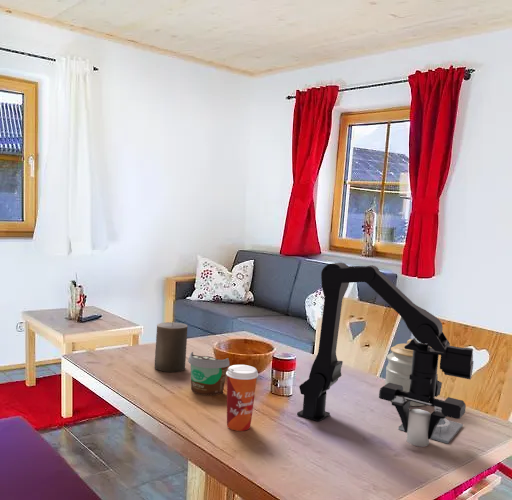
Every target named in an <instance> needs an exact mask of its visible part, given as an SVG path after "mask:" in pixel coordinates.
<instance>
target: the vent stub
mask: <svg viewBox="0 0 512 500" xmlns="http://www.w3.org/2000/svg"><path fill="white" fill-rule="evenodd" d="M431 413H432V412H429V411H427V410H425V409H420V408H411V409H409V417H408V428H407V433H406V439H405V440H406V442H407V443H408V444H409V445H412V446H414V447H422V448H423V447H427V446H428V447H429V443H430V439H428V431H429V424H430V417H431Z"/></svg>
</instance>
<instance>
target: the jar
mask: <svg viewBox="0 0 512 500" xmlns="http://www.w3.org/2000/svg"><path fill="white" fill-rule="evenodd" d="M412 339H413V338H409V339H408V340H407V341H406V343H397V344H395V345H394V346H392V347H390V351H391V352H390V353H388V354H387V356H386V358H387V361H388V362H387V363H388V364H387V365H386V367H385V369H386V371H385V372H386V373H385V384H384V385H386V384H388V383H393V384H397V385H401V386H403V391H407V392H409V390H410V379H409V377H410V374H411V368H412V358H413V350H409V349H405V348H404V347H405V345H407V344H408V343H410V342H411V340H412ZM392 402H393V400H392V401H391V403H392ZM422 406H425V405H424V404H420V403H416V402H413V401H411V403H410V407H422Z"/></svg>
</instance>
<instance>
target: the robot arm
mask: <svg viewBox="0 0 512 500" xmlns="http://www.w3.org/2000/svg"><path fill="white" fill-rule="evenodd" d="M320 272H321V273H320V274H321V275H320V276H321V277H320V280H321V290H322V293H323V298H324V301H323V309H322V316H321V317H322V318H321V325H320V334H319V340H318V341H319V343H318V349H317V354H316V356H315V359H314V361H313V363H312V365H311V368H310V371H309V372H310V373H309V374H308V379H307V380H305V381H304V382H302V383H301V384H300V385H299V386H298V387H299V391H300V394H301V395H303V402H302V403H303V404H302V409H301V410H300V411H298V412H297V413H296V416H299V417H303V418H306V419H309V420H312V421H315V422H321V421H322V420H323V421H324V419H326V418H327V417H329V416H330V415H331V412H329V411H326V403H327V391H329V390H330V389H331V387H332V386H334V384H336V383H337V382H338V380H339V379H340V378H341V377H342V375H343V374H342V366H343V363H344V361H343V360H338V357H337V345H338V339H339V338H338V337H339V330H340V322H341V315H342V306H343V299H344V297H345V295H346V292H347V290H348V288H349V285H350V283H366V284H367V285H368V286H369V287H370V288H371V289H372V290H374V292H375V293H376V294H378V296H380V297H381V299H382V300H384V302H385V303H387V304H388V305H389V306H390V308H392V309H393V310H394V311H395V312H396V313H397V314H398V315H399V316H400V317H401V319H402V320H403V322H404V323H405V326H406V327H407V329H408V330H409V331H410V333H411V334H412V336H413V338H411V339H412V340H411V342H410V343H408V344H407V343H406V344H407V345H405V347H404V348H405V349H409V350H413V358H412V368H411V374H410V377H409V379H410V390H409V392H407V391H403V386H401V385H397V384H393V383H388V384H386V385H385V384H384V385H383V386H382V387H380V389H379V392H378V398H379V399H380V400H384V401H388V402H391V406H393V407H395V410H396V413H398V415H399V419H400V421H401V424H403V427H404V430H405V431H404V433H406V434H407V428H408V417H409V410H410V407H411V406H410V403H411V401H413V402H416V403H420V404H424V405H423V406H429V407H433V408H434V410H433V412H430V413H431V417H430V424H429V431H428V439H429V440H432V439H431V437H432V435H433V433H434V431H435V429H436V427H437V425H438V423H439V421H440V419H445V418H446V419H447V417H448V418H451V419H455V420H460V419H461V418H462V417H463V415H465V413H466V407H467V406H466V403H465V401H464V400H461V399H458V398H454V397H449V396H448V397H447V398H446V399H444V400H442V399H438V398H437V397H438V396H441V389H442V385H443V382H441V381H439V380H438V378H439V377H438V375H439V374H438V368H439V369H440V370H441V372H442V373H444V375H445V376H450V377H455V378H461V379H466V380H472V376H473V369H474V359H473V358H474V349H473V348H471V347H460V346H454V345H451V343H450V341H449V340H448V338H447V337H446V335H445V333H444V332H443V324H442V321H441V319H439V318H438V317H436V316H435V315H434V314H433V313H430V312H429V311H427V310H426V309H425V308H422V307H420V306H418V305H417V304H415V303H414V302H413V301H412V300H411V299H410V298H409V297H407V295H406V294H404V292H403V291H401V290H400V289H399V287H397V286H396V285H395V284H394V283H393V282H392V281H391V280H390V279H389V278H387V277H386V275H385V274H383V273H382V271H381V270H380V269H379V268H378V266H376V265H366V266H365V265H364V266H363V265H350V266H349V265H347V264H346V263H344V262H334V263H329V264H327V265H325V266H323V268H322V270H321V271H320ZM439 356H440V357H439ZM439 358H440V360H439ZM438 365H439V367H438ZM392 400H393V402H392Z"/></svg>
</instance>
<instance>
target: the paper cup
mask: <svg viewBox="0 0 512 500" xmlns="http://www.w3.org/2000/svg"><path fill="white" fill-rule="evenodd" d="M258 377H259V373H258V370H257V368H256V367H254V366H251V365H247V364H233V365H230V366H228V367H227V372H226V426H227V428H228V429H229V430H232V431H237V432H243V431H248V430H249V429H250V428H251V423H252V418H253V417H252V416H253V411H254V410H253V409H254V402H255V397H256V396H255V395H256V394H255V393H256V388H257V387H256V386H257V379H258Z"/></svg>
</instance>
